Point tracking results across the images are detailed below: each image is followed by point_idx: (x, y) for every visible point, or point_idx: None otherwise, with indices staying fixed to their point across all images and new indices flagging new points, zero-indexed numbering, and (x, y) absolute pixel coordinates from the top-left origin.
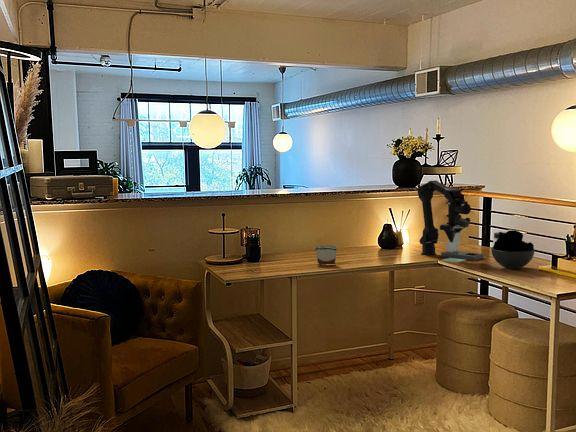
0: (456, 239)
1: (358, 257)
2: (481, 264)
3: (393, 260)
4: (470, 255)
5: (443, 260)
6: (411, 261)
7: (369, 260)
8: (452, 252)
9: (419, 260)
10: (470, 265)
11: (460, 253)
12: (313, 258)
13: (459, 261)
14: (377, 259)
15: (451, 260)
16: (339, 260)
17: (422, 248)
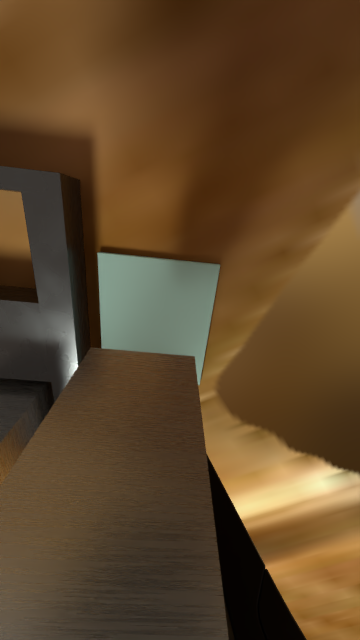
0: (161, 452)
1: (281, 593)
2: (190, 13)
3: (294, 522)
4: (35, 231)
5: (200, 372)
6: (289, 473)
7: (325, 563)
8: (41, 398)
9: (247, 460)
10: (289, 112)
11: (17, 344)
12: (342, 635)
13: (193, 267)
14: (295, 557)
15: (186, 330)
16: (353, 602)
17: None
